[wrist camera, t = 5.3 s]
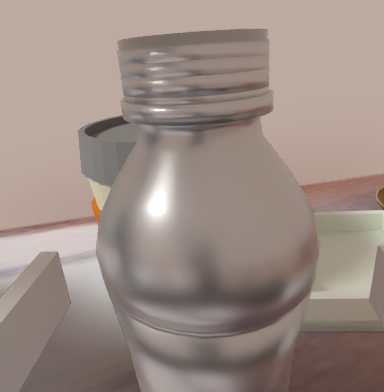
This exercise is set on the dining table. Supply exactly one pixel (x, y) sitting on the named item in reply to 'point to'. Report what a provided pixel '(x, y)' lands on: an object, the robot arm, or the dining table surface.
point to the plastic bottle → (205, 219)
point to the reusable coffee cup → (104, 155)
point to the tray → (345, 272)
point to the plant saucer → (380, 196)
